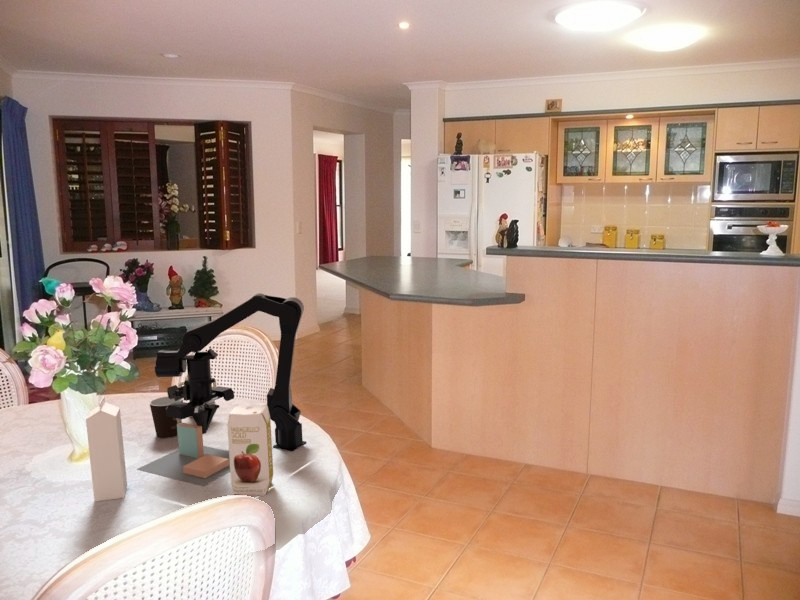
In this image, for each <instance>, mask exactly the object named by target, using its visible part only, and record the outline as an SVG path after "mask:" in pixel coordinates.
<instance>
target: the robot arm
mask: <svg viewBox="0 0 800 600" xmlns="http://www.w3.org/2000/svg"><path fill="white" fill-rule="evenodd" d="M304 310H305V307H304V303H303V301H301V300H300V299H299V298H297V297H294V296H293V297H292V296H291V297H288V298H284V297H280V296H273V295H266V294H264V293H262V292H261V293H256V294H255V295H253V296H252V297H250V298H249V299H247V300H246V301H244V302H242V303H241V304H239V305H237V306H236V307H234V308H232V309H231V310H228V311H227V312H225V313H224V314H222V315H220V316H219V317H217V318H216V319H212V320H210V321H207V322H204V323H201V324H199V325H196V326H194V327H192V328H191V329H189V330H188V331H186V332H185V333H184V334H183V336H182V344H181V346H180V348H178V349H177V350H165V349H164V350H163V349H161V350H158V351H157V352H156V359H155V365H154V373H155V376H156V377H157V378H177V377H179V378H180V377H182V375H183V373H186V372H187V374H188V380H185V379H184V381H183V382H184V385H182V387H179V386H178V385H177V384H175V385H172V386H169V387H167V396H168V397H169V399H174V400H175V401H178V400H179V399H183V402H179V401H178V402H176V403H173V404H170V405H168V406H167V408H166V416H167V417H172V418H177V419H182V420H185V419H187V418H190V417H191V416H192V418H193V420H194V422H195V423H196V424H195V425H198V426H202V435H205V434H207V431H208V429H209V427H210V425H211V422H212V420H213V418H214V416H215V414H216V412H217V410H218V409H220V404H216V400H219V399H221V398H223V400H224V401H226V402H229V401H231V400H234V399H235V391H234V390H233V388H231V387H225V386H220V385H219V386H217V387H215V388H213V389H212V387H213V383H214V382H215V379H216V378H214V377H212V371H211V369H212V368H211V360H216V358H217V357H218V356H219V354H218V352H215V351H214V350H213V349H212V347H211V348H209V349H208V350H207V351H202V350H203V349H205V348H206V347H207V346H208V345H209V344H210V343H212V342H213V341H214V340H215V339H216V338H217V337H218V336H219V335H221V334H222V333H224V332H225V331H227V330H228V329H231V328H232V327H234V326H235V325H237V324H239V323H240V322H242V321H243V320H244V321H245V319H247V318H249V317H251V316H252V315H253V314H256V313H257V312H261V313H264V314H268V315H270V316H273V317H276V318H278V321H279V324H278V325H279V329H280V342H279V350H278V356H277V357H278V359H277V367H276V376H275V384H274V388H272V387H270V388H269V389H268V392H267V394H266V405H267V406H268V410H269V414H270V420H271V421H272V422H273V423H274V424H275V429H274V435H275V436H274V437H275V438H274V439H275V440H274V441H275V444H274V445H272V449H273V448H274V449H277V450H283V451H288V452H294V451H295V450H297V449H299V448H301V447H303V446H304V445H306V444H307V441H305V440H304V439H303V423H302V422H300V420H299V419H300V417H301V413H302V411H301V409H300V408H298V407H297V406H296V405H294V403H293V393H292V386H291V385H292V384H291V382H292V372H293V363H294V358H295V357H294V355H295V347H296V339H297V338H296V337H297V332H298V329H299V326H300V323H301V319H302V318H303V314H304ZM191 353H194V354H192V355H191ZM185 401H186V402H185ZM187 401H190V402H187Z"/></svg>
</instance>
